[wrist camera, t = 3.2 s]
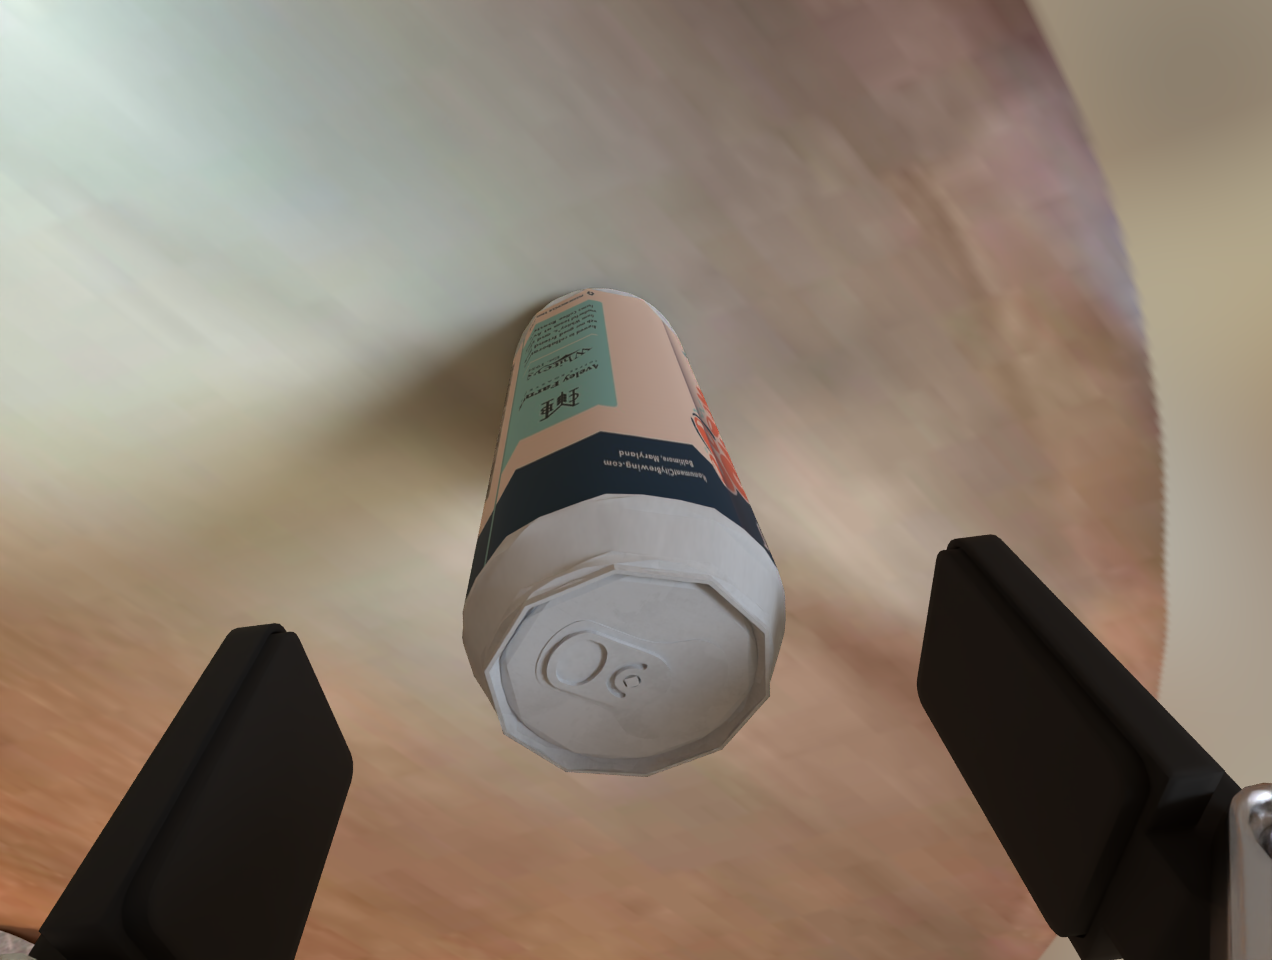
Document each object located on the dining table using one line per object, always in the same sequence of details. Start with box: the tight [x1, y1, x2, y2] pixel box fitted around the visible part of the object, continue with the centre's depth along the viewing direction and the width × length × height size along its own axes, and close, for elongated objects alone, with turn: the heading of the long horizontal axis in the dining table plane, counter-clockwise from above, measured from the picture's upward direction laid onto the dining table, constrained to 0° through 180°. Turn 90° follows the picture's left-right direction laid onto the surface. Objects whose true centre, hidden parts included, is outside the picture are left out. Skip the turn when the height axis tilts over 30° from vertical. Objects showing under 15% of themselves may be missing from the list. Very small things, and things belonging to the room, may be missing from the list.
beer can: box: [462, 288, 786, 777], centre depth 14 cm, size 5×5×12 cm
